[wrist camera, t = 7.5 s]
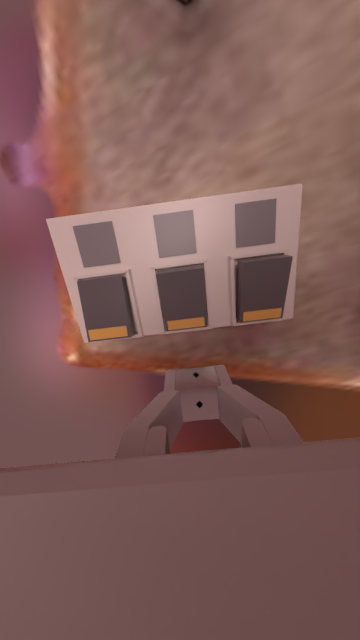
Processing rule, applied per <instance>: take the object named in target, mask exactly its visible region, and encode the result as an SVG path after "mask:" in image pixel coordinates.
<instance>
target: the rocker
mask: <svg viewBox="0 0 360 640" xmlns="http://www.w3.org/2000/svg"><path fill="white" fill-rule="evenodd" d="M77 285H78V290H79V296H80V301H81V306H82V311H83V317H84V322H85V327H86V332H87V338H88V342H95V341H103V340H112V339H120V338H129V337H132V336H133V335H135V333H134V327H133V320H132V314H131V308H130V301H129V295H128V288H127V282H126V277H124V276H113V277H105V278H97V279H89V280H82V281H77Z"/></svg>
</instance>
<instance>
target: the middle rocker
mask: <svg viewBox="0 0 360 640" xmlns="http://www.w3.org/2000/svg"><path fill="white" fill-rule="evenodd" d="M156 278H157V283H158V289H159V294H160V300H161V305H162V310H163V316H164V321H165V327H166V332H167V331H175V330H183V329H192V328H200V327H207V313H206V293H205V274H204V267H203V266H202V265H198V266H191V267H183V268H175V269H167V270H159V271H157V272H156Z"/></svg>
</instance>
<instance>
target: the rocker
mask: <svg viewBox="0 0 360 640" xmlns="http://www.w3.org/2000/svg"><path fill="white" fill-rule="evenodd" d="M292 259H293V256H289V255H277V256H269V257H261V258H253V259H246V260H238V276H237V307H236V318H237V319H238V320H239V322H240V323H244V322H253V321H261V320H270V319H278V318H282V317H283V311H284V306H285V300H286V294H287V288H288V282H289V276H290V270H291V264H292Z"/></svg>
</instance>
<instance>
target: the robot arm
mask: <svg viewBox="0 0 360 640" xmlns="http://www.w3.org/2000/svg"><path fill="white" fill-rule="evenodd" d="M207 419H219V420H220V421H221V422H222V423H223V424H224V425H225V426H226V427H227V428H228V430H229V431H230V432H231V433H232V434H233V435H234V436H235V437H236V438H237V439H238V441H239V442H240V443H241V445H242V447H241V448H232V449H220V450H209V451H197V452H185V453H173V454H171V450H170V447H171V445H172V443H173V441H174V439H175V438H176V436H177V434H178V432H179V430H180V428H181V427H182V425H183V422H188V421H196V420H207ZM0 640H360V438H351V439H339V440H328V441H317V442H316V441H315V442H303V441H302V439H301V438H300V436H299V435H298V434H297V432H296V431H295V429H294V428H293V426H292V425H291V423H290V422H289V421H288V419H287V418H286V416H285V415H284V414H283V413H281V412H280V411H278V410H277V409H274V408H273V407H271V406H270V405H268V404H267V403H265V402H264V401H262V400H260V399H258V398H257V397H255V396H254V395H252V394H251V393H249V392H247V391H246V390H244V389H242V388H241V387H239V386H238V385H233V384H232V382H231V379H230V377H229V375H228V373H227V370H226V368H225V366H224V365H223V364H222V365H215V366H208V367H199V368H186V369H174V370H167V371H166V375H165V383H164V391H163V392H160V393H159V394H158V395H157V396H156V397H155V398H154V399H153V400H152V401H151V402H150V403H149V404H148V405H147V406H146V407H145V408H144V409H143V410H142V411H141V412H140V413H139V414H138V415H137V416H136V417H135V418H134V419H133V420H132V421H131V423H130V424H128V425H127V426H126V428H125V429H124V432H123V435H122V438H121V441H120V444H119V447H118V450H117V453H116V456H115V458H114V459H103V460H92V461H79V462H67V463H56V464H44V465H32V466H20V467H8V468H0Z"/></svg>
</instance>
